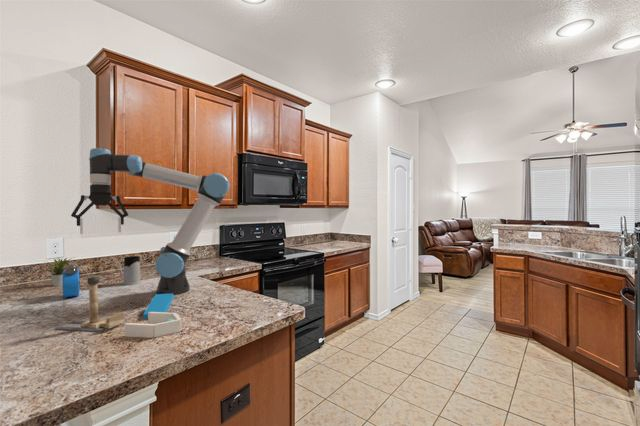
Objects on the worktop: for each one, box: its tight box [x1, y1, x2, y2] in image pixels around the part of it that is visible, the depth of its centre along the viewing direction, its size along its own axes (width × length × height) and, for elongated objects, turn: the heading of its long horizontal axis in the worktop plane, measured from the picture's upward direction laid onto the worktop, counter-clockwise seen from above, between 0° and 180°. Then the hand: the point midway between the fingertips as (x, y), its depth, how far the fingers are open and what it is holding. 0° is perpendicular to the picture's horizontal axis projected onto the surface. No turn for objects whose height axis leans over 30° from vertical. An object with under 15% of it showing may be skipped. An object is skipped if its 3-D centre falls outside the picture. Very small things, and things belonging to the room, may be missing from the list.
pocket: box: [124, 311, 183, 339], centre depth 105 cm, size 16×12×4 cm
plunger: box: [80, 276, 125, 329], centre depth 108 cm, size 12×6×17 cm, turn 83°
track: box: [54, 319, 104, 333], centre depth 109 cm, size 18×7×1 cm, turn 83°
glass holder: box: [118, 255, 142, 286], centre depth 175 cm, size 9×14×15 cm, turn 71°
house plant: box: [44, 256, 76, 287], centre depth 171 cm, size 14×14×16 cm
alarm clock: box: [62, 264, 81, 300], centre depth 148 cm, size 13×6×15 cm, turn 38°
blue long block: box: [143, 293, 174, 320], centre depth 126 cm, size 7×7×18 cm
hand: (101, 233), depth 134 cm, fingers open, 13 cm apart
